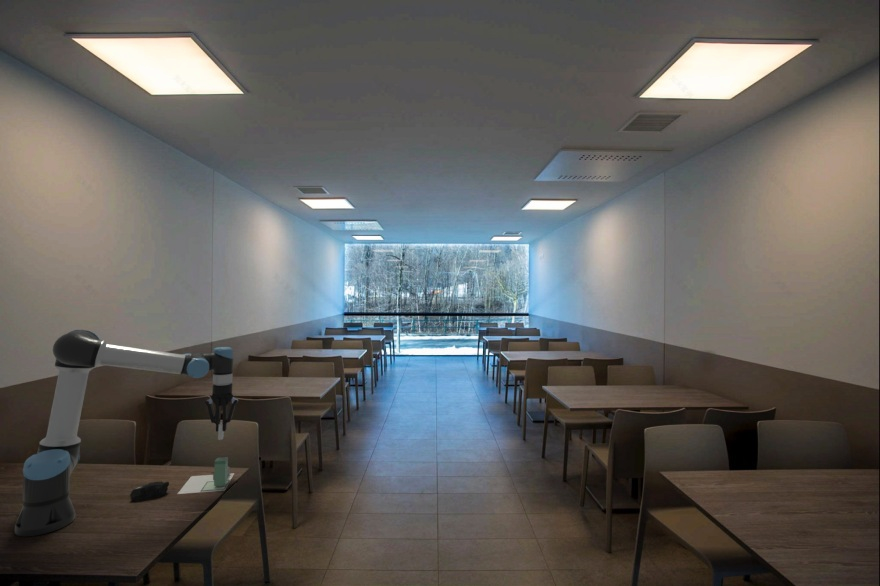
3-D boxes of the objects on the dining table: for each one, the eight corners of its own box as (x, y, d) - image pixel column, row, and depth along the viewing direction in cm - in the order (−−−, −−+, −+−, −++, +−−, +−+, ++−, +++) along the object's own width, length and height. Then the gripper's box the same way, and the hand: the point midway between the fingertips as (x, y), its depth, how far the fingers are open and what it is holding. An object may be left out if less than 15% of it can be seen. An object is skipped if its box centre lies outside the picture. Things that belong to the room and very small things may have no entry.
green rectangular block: (224, 487, 176) (225, 460, 176) (213, 488, 175) (214, 461, 175) (227, 483, 179) (228, 457, 180) (216, 483, 179) (217, 457, 179)
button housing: (226, 478, 184) (226, 471, 184) (213, 479, 183) (213, 472, 183) (229, 473, 189) (229, 466, 189) (216, 474, 188) (216, 467, 188)
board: (224, 491, 173) (224, 489, 173) (177, 495, 169) (177, 493, 169) (234, 474, 190) (234, 472, 190) (191, 477, 186) (191, 475, 186)
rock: (149, 505, 161) (149, 489, 161) (127, 503, 162) (128, 487, 163) (169, 494, 171) (170, 479, 171) (149, 491, 172) (150, 477, 173)
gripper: (240, 381, 191) (239, 435, 191) (208, 382, 188) (206, 436, 188) (237, 385, 184) (235, 440, 184) (203, 385, 181) (201, 442, 181)
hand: (220, 438), depth 186 cm, fingers closed
